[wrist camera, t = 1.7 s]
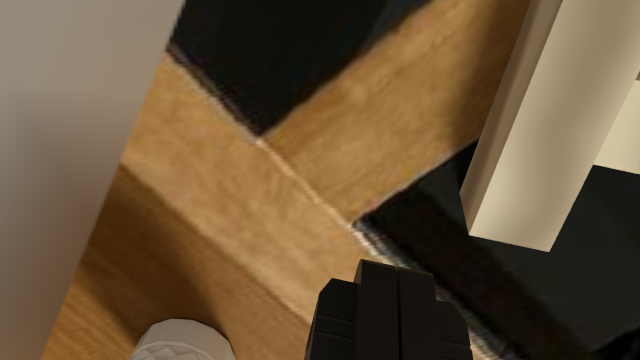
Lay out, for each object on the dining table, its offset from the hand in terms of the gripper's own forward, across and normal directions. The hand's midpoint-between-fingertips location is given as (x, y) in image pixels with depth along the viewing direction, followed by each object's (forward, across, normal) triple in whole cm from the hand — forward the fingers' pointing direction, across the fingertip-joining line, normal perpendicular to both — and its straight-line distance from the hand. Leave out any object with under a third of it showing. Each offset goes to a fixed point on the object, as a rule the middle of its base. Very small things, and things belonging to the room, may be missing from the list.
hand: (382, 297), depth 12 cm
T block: (+18, -12, 0) cm, 22 cm away
